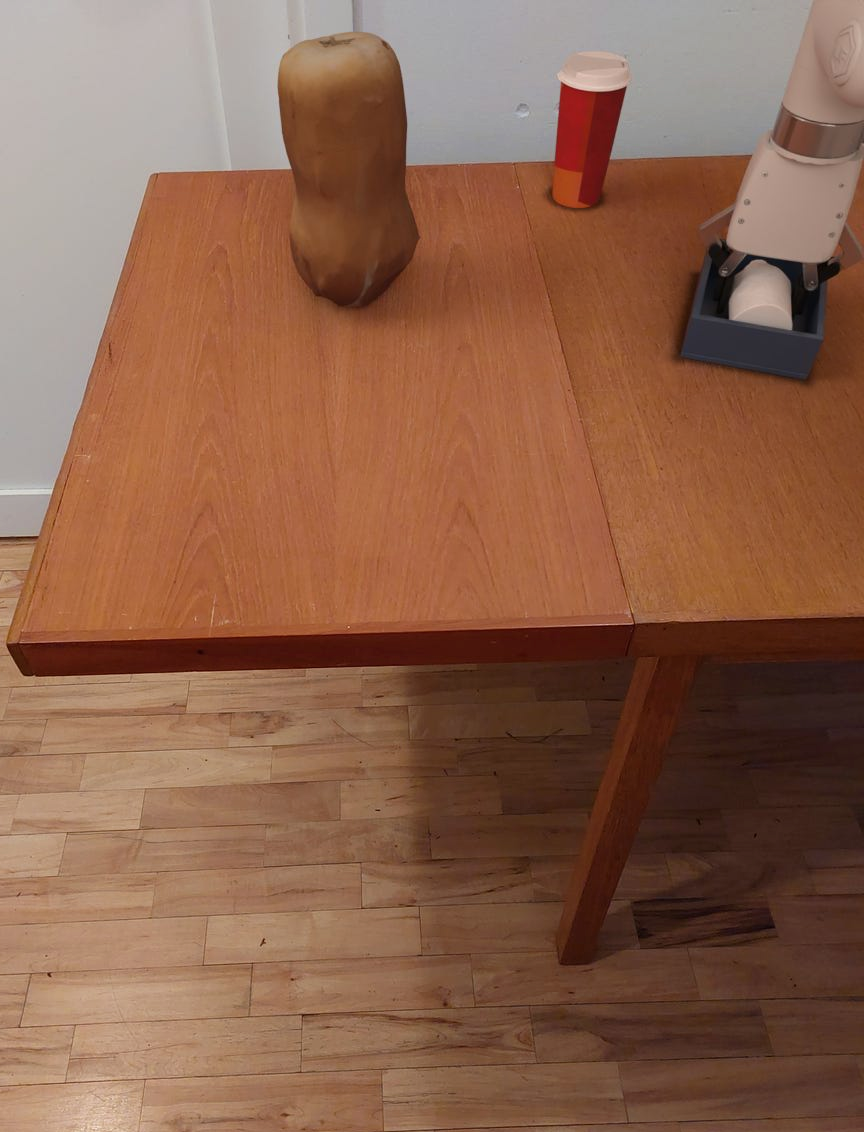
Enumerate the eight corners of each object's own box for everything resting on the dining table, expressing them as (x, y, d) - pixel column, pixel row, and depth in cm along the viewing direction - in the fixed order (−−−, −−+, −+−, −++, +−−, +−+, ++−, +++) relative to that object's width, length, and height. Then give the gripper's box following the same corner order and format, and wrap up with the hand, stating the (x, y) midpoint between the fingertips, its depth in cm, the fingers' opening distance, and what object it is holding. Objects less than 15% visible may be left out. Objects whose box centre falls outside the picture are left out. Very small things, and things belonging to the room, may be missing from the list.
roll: (779, 293, 97) (797, 244, 93) (782, 356, 90) (802, 306, 85) (722, 287, 98) (738, 237, 94) (721, 349, 91) (737, 298, 86)
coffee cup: (607, 182, 114) (631, 50, 103) (610, 213, 109) (636, 78, 98) (541, 180, 115) (558, 48, 103) (542, 211, 110) (560, 76, 98)
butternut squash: (318, 256, 104) (300, 4, 84) (429, 273, 101) (438, 16, 82) (276, 321, 96) (246, 58, 76) (396, 340, 93) (398, 74, 74)
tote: (806, 380, 88) (823, 339, 85) (679, 357, 91) (691, 316, 87) (813, 294, 98) (829, 254, 94) (699, 276, 100) (710, 236, 97)
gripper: (921, 125, 79) (841, 308, 94) (723, 100, 83) (675, 280, 97) (923, 161, 75) (839, 347, 89) (714, 134, 79) (665, 317, 93)
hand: (754, 311), depth 93 cm, fingers closed on roll, 6 cm apart
